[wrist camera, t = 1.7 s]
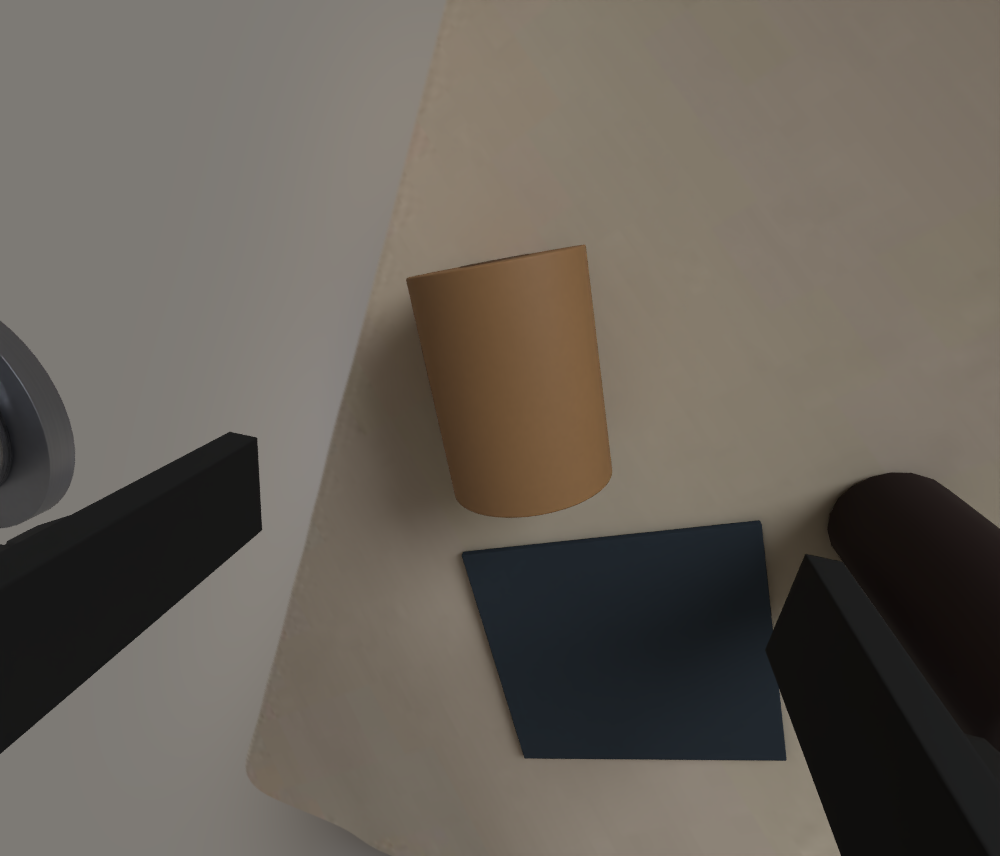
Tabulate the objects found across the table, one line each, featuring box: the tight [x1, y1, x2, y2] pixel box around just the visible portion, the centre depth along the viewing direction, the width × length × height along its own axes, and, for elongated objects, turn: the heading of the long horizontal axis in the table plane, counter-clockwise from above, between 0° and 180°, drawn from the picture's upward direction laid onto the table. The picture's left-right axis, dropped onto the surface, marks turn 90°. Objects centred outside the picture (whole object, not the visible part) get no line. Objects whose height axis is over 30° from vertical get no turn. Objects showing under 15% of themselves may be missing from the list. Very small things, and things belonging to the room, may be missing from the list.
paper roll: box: [406, 245, 612, 518], centre depth 28 cm, size 12×9×9 cm
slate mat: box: [462, 521, 786, 761], centre depth 38 cm, size 20×20×1 cm
